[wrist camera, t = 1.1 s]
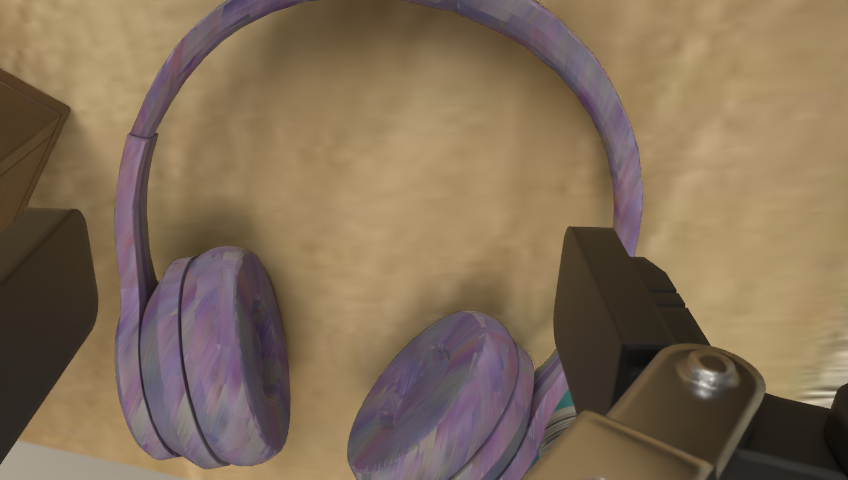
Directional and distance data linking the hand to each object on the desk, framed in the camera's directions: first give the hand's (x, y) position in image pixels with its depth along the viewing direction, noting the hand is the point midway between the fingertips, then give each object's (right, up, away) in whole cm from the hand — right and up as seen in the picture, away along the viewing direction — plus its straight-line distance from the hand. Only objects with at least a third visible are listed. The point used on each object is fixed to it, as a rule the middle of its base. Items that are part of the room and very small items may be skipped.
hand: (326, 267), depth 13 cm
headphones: (0, +2, +18) cm, 18 cm away
